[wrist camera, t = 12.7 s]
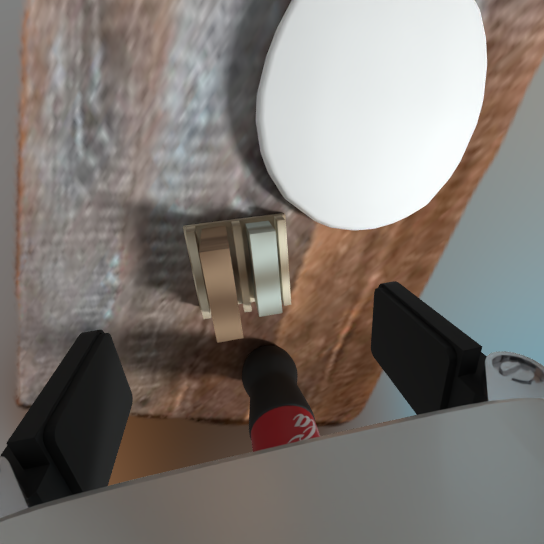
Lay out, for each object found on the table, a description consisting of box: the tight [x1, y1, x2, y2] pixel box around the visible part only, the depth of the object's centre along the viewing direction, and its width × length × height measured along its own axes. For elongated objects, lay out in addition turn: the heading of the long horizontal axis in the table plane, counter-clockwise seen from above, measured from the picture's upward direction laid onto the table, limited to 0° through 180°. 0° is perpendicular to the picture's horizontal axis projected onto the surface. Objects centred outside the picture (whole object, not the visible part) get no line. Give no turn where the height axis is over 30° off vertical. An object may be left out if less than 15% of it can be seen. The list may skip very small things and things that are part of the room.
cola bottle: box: [242, 346, 320, 452], centre depth 36 cm, size 8×8×30 cm
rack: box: [183, 213, 291, 319], centre depth 39 cm, size 12×13×6 cm
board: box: [199, 226, 243, 343], centre depth 37 cm, size 11×3×9 cm, turn 5°
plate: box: [256, 0, 487, 230], centre depth 35 cm, size 28×6×27 cm
